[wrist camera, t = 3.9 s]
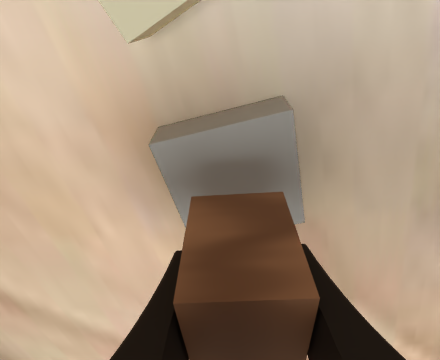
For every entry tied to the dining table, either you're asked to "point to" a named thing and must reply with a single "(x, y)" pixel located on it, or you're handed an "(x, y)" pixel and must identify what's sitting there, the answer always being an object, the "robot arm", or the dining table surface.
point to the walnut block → (244, 280)
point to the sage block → (143, 15)
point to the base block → (232, 155)
